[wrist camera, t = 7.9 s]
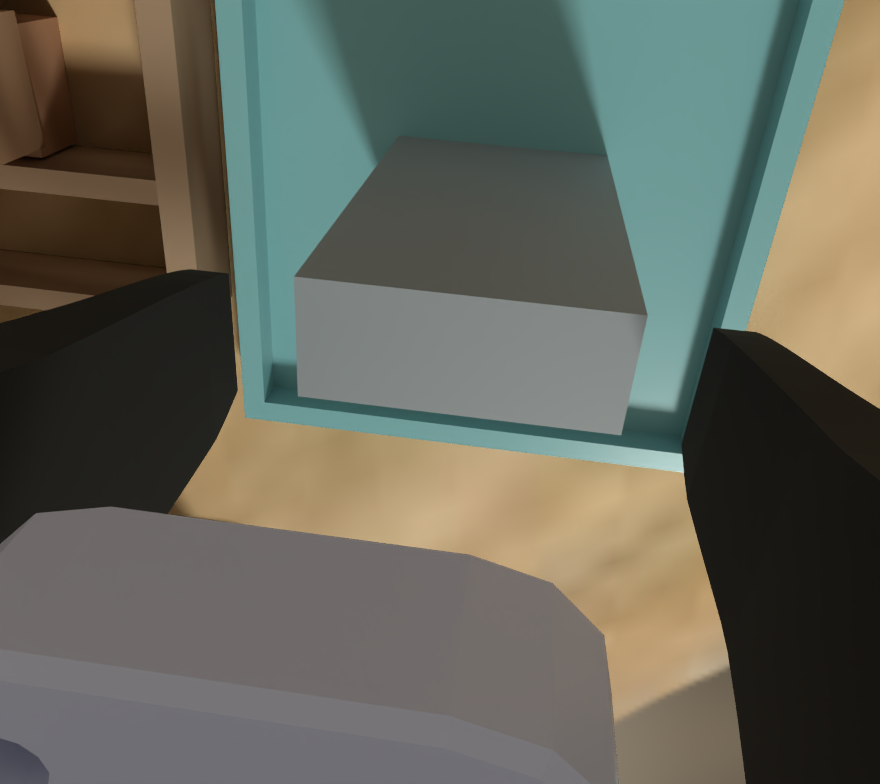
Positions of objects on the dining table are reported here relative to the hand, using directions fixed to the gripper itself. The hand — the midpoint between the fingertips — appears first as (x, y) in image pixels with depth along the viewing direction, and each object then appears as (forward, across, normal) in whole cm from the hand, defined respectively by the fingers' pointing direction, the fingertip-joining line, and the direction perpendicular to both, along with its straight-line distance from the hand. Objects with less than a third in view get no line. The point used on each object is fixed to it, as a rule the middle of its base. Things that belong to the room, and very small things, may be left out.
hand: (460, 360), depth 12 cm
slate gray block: (+9, 0, 0) cm, 9 cm away
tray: (+9, 0, 0) cm, 9 cm away
